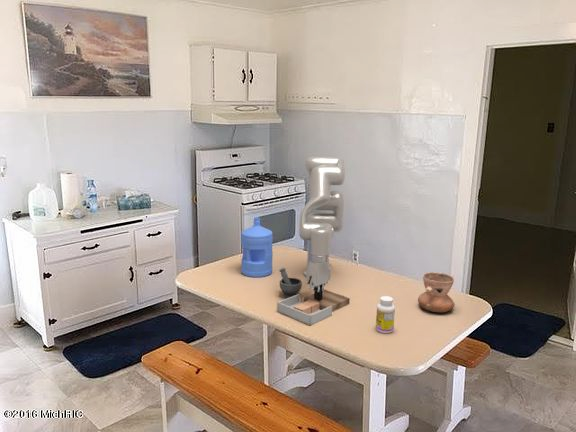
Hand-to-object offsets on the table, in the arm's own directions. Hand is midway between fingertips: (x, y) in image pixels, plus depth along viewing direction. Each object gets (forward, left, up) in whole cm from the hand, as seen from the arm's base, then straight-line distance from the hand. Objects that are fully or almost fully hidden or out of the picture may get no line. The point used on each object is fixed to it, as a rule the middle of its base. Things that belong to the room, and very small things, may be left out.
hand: (318, 299), depth 203 cm
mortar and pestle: (0, -17, -4) cm, 17 cm away
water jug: (-10, -49, -4) cm, 50 cm away
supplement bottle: (-2, +31, -4) cm, 31 cm away
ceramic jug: (-35, +35, -4) cm, 50 cm away
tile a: (+5, 0, -3) cm, 6 cm away
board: (-5, 0, -4) cm, 6 cm away
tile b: (+10, 0, -3) cm, 10 cm away
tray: (+9, 0, -4) cm, 9 cm away
